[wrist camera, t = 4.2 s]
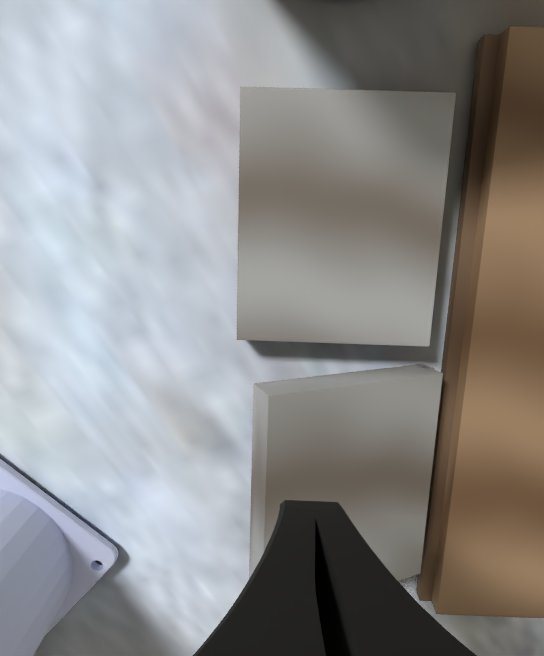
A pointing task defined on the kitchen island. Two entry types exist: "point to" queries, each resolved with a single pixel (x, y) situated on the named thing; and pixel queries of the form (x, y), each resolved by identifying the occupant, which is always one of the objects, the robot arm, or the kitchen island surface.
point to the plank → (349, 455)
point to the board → (494, 354)
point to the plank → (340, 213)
